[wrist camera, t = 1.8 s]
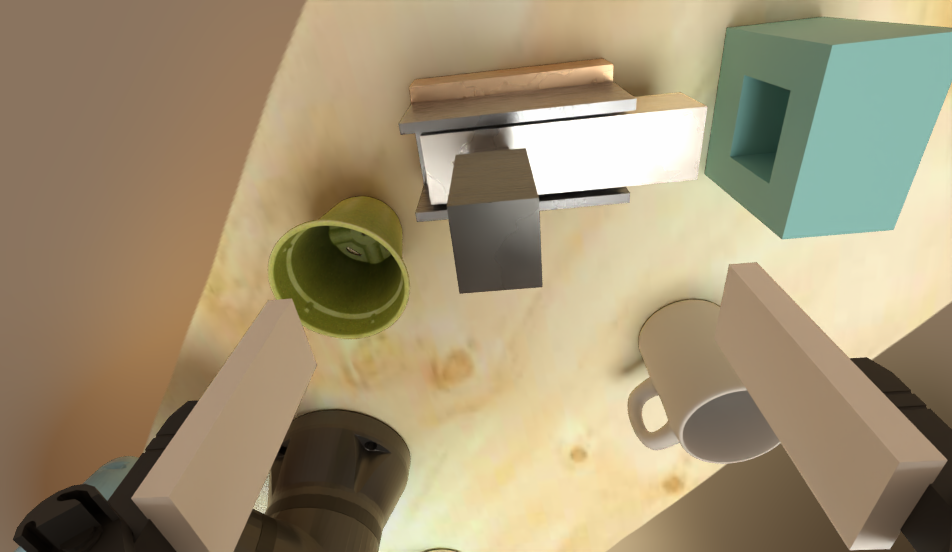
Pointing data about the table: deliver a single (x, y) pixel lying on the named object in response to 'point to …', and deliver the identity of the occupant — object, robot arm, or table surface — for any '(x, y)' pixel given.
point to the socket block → (826, 120)
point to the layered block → (516, 113)
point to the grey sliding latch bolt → (548, 177)
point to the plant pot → (344, 270)
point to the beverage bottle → (441, 551)
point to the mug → (696, 389)
